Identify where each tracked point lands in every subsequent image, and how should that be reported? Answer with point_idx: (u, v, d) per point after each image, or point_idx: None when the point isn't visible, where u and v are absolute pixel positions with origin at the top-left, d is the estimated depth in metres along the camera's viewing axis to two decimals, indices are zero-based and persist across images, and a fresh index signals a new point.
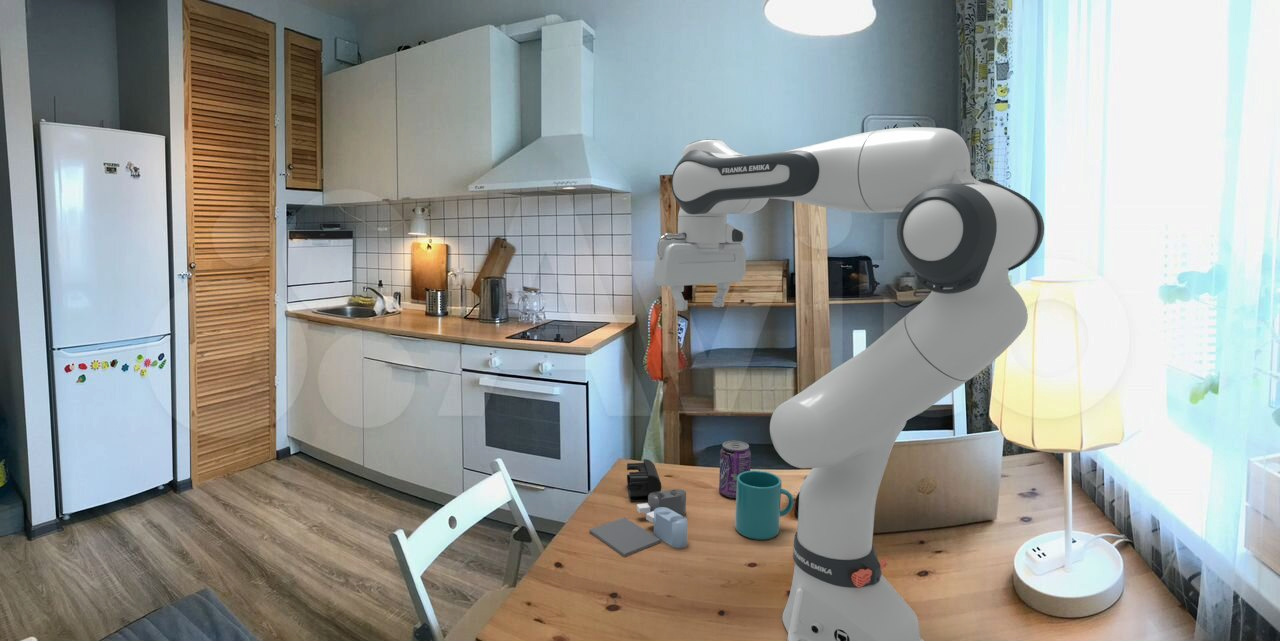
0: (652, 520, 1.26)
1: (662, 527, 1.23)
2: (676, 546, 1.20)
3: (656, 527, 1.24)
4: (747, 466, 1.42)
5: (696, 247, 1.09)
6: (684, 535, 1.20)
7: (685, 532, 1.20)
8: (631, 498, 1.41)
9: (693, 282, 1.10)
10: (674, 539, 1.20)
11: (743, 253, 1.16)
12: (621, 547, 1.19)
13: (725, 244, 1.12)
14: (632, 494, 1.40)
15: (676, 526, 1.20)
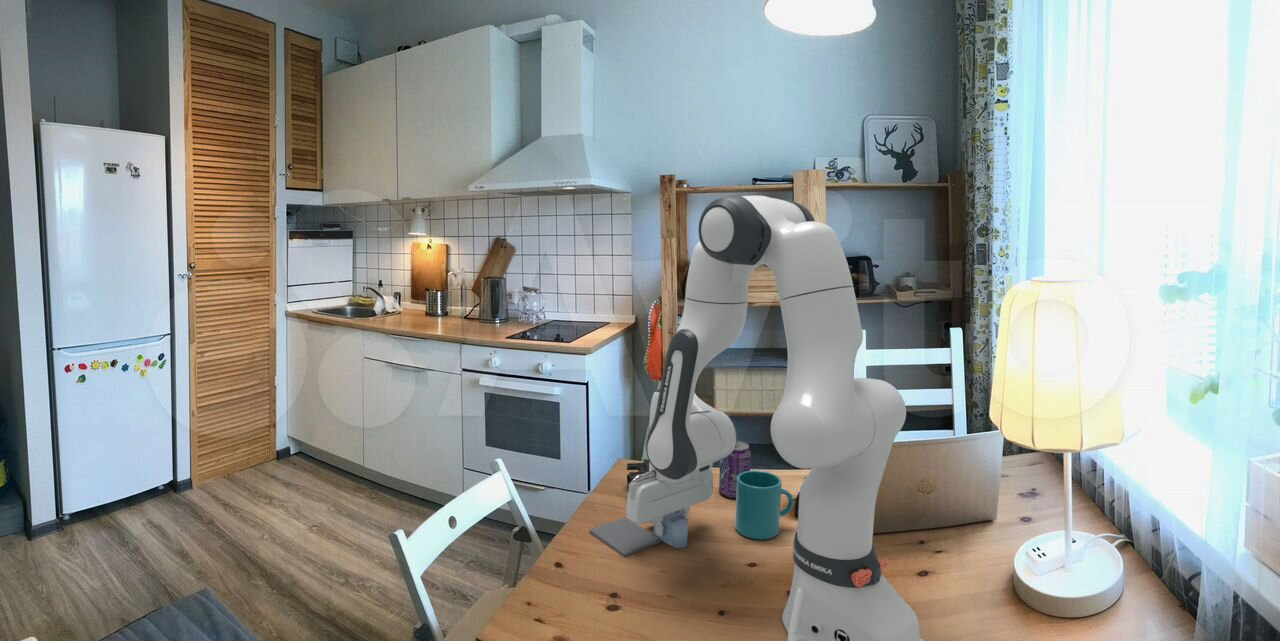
0: None
1: None
2: (676, 546, 1.20)
3: None
4: (747, 466, 1.42)
5: (665, 483, 1.19)
6: (684, 535, 1.20)
7: (685, 532, 1.20)
8: None
9: (663, 515, 1.19)
10: (674, 538, 1.20)
11: (711, 476, 1.25)
12: (621, 547, 1.19)
13: (693, 474, 1.22)
14: None
15: (676, 525, 1.20)
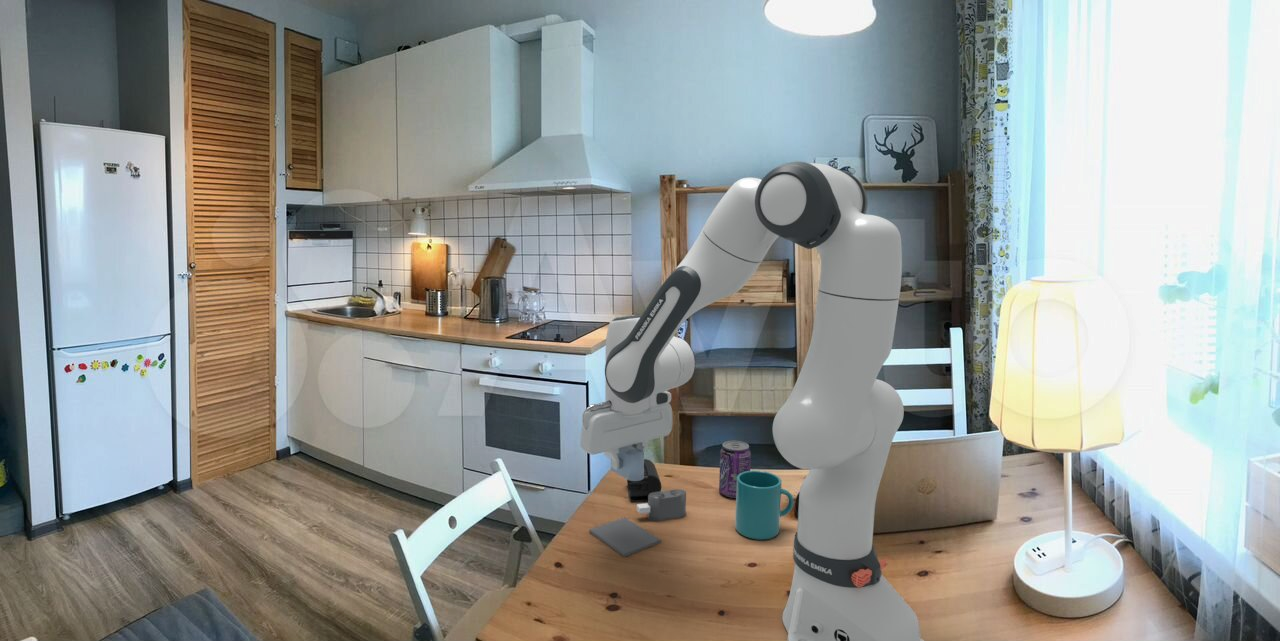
0: None
1: None
2: (632, 479, 1.18)
3: None
4: (747, 466, 1.42)
5: (621, 414, 1.16)
6: (640, 467, 1.18)
7: (641, 465, 1.18)
8: (631, 498, 1.41)
9: (618, 446, 1.17)
10: (630, 471, 1.18)
11: (669, 410, 1.23)
12: (621, 547, 1.19)
13: (650, 407, 1.20)
14: (632, 494, 1.40)
15: (632, 458, 1.17)
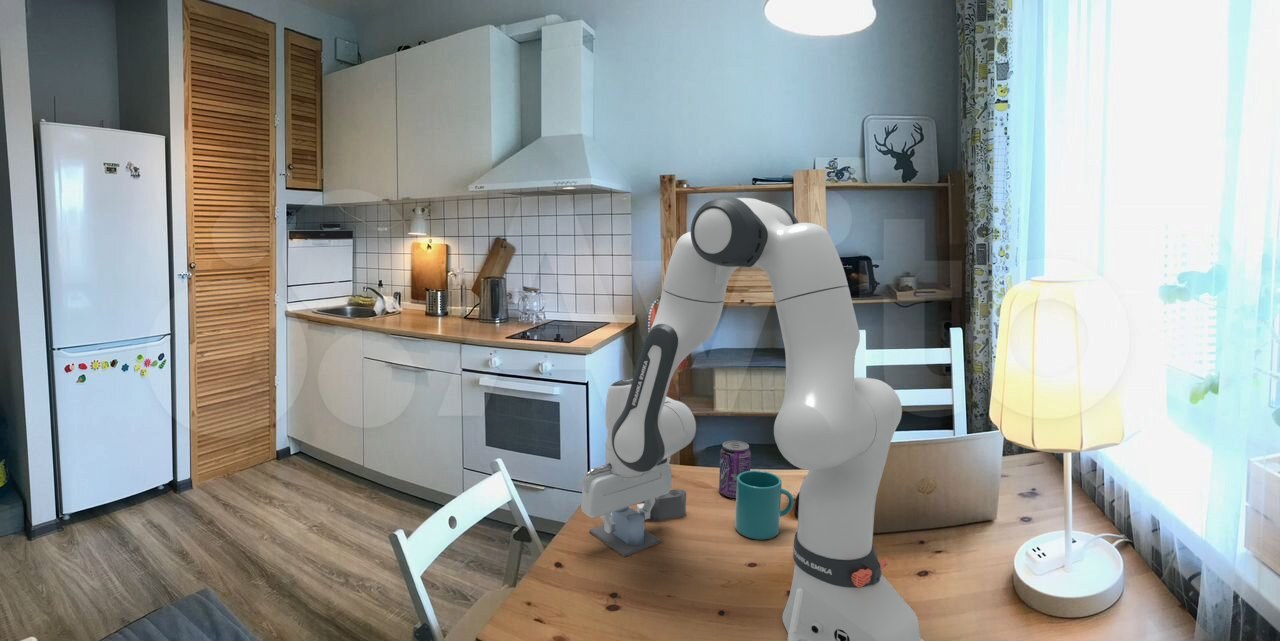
0: (610, 518, 1.26)
1: (619, 524, 1.22)
2: (632, 543, 1.20)
3: None
4: (747, 466, 1.42)
5: (621, 477, 1.18)
6: (640, 532, 1.20)
7: (641, 529, 1.20)
8: None
9: (619, 508, 1.19)
10: (630, 536, 1.20)
11: (669, 470, 1.25)
12: (621, 547, 1.19)
13: None
14: None
15: (632, 523, 1.19)
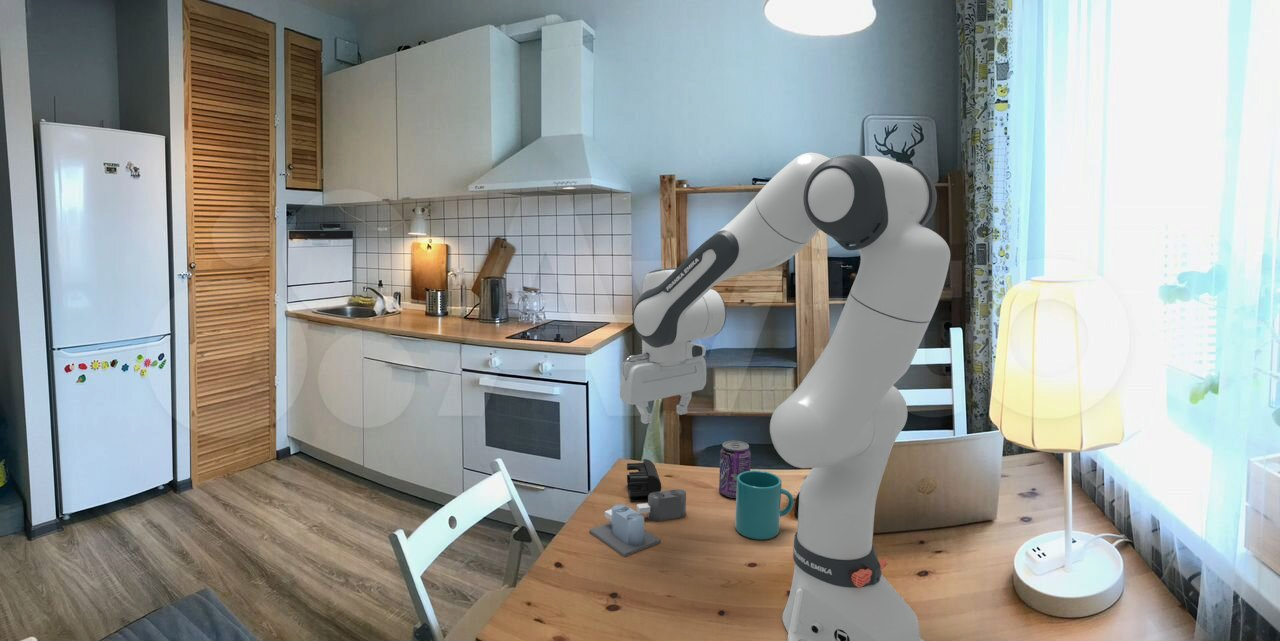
0: (610, 518, 1.26)
1: (619, 524, 1.22)
2: (632, 543, 1.20)
3: (614, 525, 1.24)
4: (747, 466, 1.42)
5: (658, 366, 1.19)
6: (640, 532, 1.20)
7: (641, 529, 1.20)
8: (631, 498, 1.41)
9: (657, 398, 1.19)
10: (630, 536, 1.20)
11: (704, 364, 1.26)
12: (621, 547, 1.19)
13: (686, 359, 1.22)
14: (632, 494, 1.40)
15: (632, 523, 1.19)
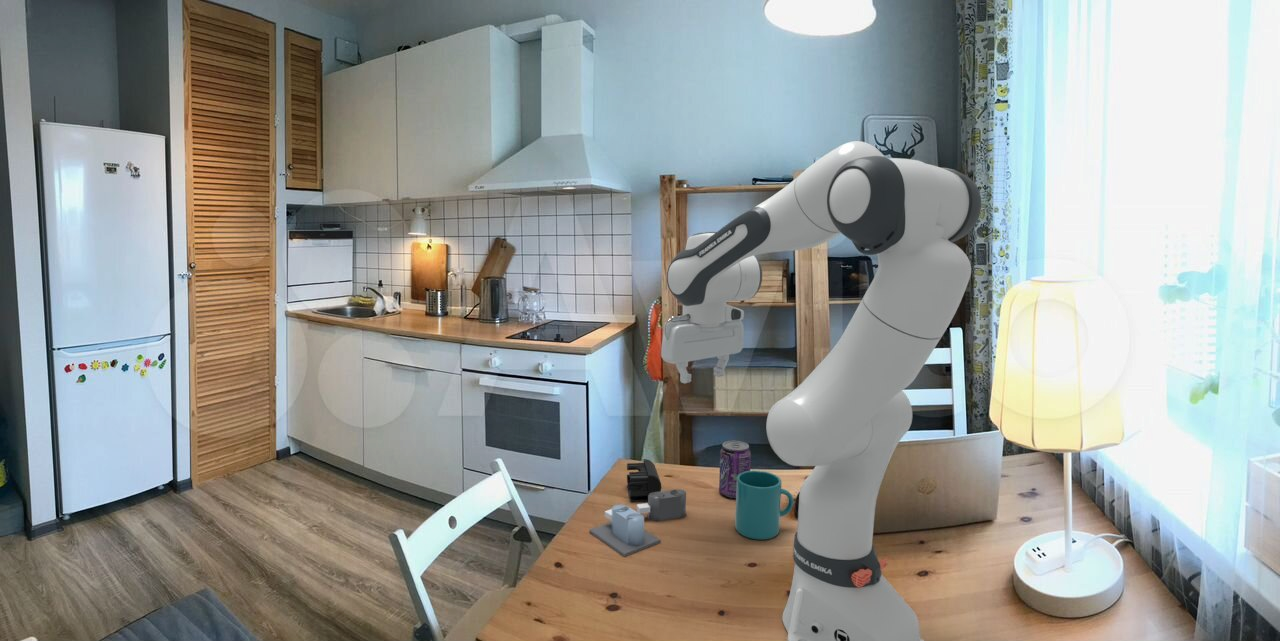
0: (610, 518, 1.26)
1: (619, 524, 1.22)
2: (632, 543, 1.20)
3: (614, 525, 1.24)
4: (747, 466, 1.42)
5: (699, 327, 1.22)
6: (640, 532, 1.20)
7: (641, 529, 1.20)
8: (631, 498, 1.41)
9: (696, 358, 1.23)
10: (630, 536, 1.20)
11: (741, 328, 1.29)
12: (621, 547, 1.19)
13: (725, 322, 1.25)
14: (632, 494, 1.40)
15: (632, 523, 1.19)
